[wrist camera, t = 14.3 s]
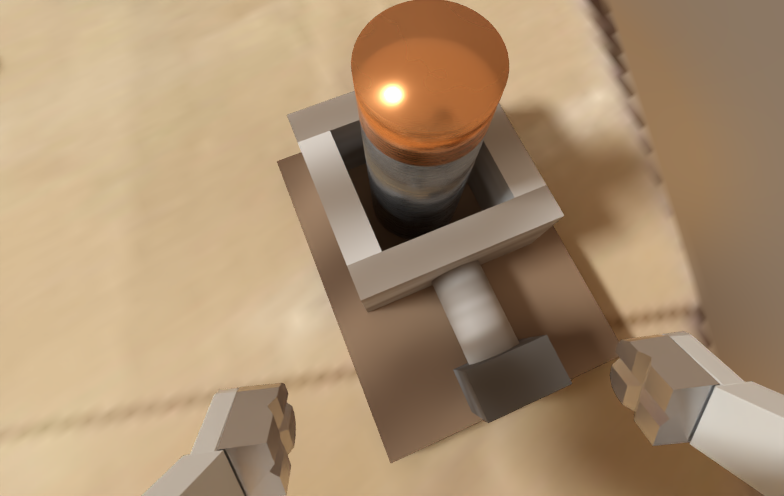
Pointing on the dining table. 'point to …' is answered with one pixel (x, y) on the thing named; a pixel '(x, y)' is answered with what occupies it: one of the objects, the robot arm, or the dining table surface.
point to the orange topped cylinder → (425, 107)
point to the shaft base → (426, 330)
